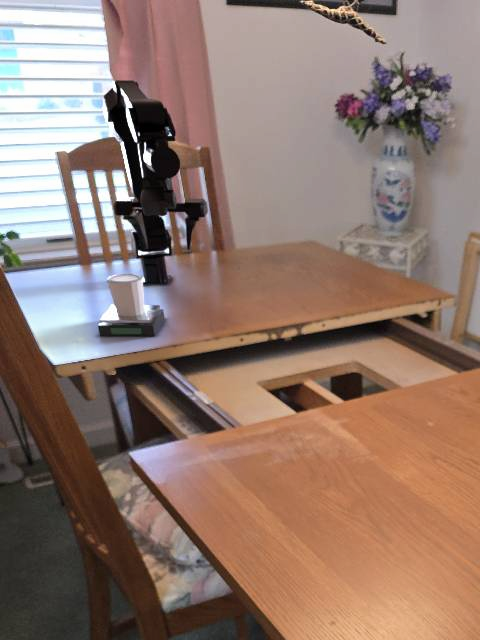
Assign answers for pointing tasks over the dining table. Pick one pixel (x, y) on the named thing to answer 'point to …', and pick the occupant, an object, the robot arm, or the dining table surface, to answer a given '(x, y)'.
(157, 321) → the scale
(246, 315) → the dining table surface
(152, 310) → the scale pan
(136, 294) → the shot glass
